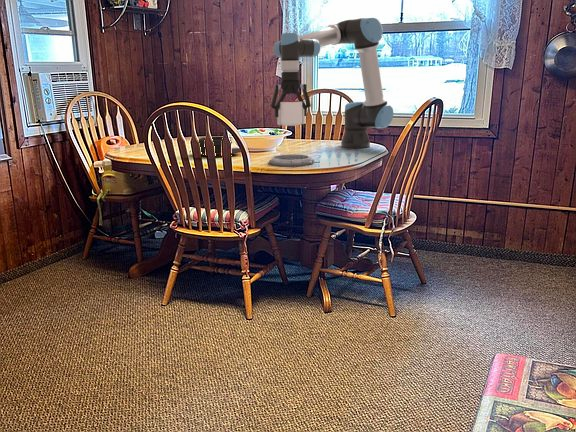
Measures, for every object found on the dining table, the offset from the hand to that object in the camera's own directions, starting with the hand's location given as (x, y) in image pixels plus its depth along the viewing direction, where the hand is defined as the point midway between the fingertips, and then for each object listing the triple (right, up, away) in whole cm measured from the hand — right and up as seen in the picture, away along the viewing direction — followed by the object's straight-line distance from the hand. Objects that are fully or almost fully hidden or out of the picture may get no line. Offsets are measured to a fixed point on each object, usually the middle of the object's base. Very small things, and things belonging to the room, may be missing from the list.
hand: (290, 124), depth 238 cm
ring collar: (0, -16, +4) cm, 17 cm away
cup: (0, 0, 0) cm, 0 cm away
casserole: (-37, -10, +30) cm, 49 cm away
